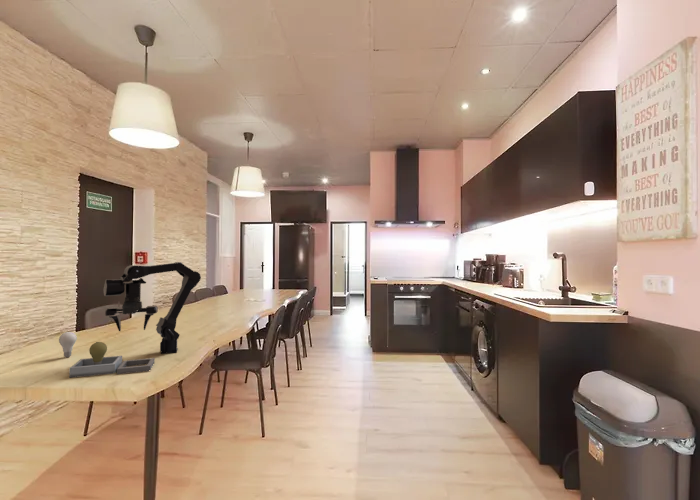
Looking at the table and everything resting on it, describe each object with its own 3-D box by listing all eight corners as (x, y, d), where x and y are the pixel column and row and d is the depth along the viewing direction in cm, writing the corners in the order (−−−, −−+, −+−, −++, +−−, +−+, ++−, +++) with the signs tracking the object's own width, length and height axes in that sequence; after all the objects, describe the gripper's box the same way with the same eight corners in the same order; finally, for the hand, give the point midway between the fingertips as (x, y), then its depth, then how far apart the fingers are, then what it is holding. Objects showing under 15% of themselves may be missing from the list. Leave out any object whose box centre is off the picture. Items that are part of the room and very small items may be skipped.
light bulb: (97, 370, 132) (98, 344, 132) (84, 369, 133) (85, 343, 133) (109, 366, 138) (111, 340, 138) (97, 365, 139) (99, 339, 139)
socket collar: (154, 362, 146) (154, 357, 146) (150, 370, 135) (150, 365, 136) (123, 365, 142) (123, 360, 142) (116, 374, 131) (117, 368, 131)
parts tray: (122, 364, 144) (122, 355, 144) (114, 373, 132) (114, 364, 132) (80, 367, 138) (80, 359, 138) (69, 377, 127) (69, 368, 127)
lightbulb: (77, 357, 152) (78, 332, 153) (59, 360, 148) (60, 334, 148) (74, 354, 157) (75, 329, 157) (57, 357, 152) (57, 331, 152)
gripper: (102, 297, 141) (101, 336, 141) (154, 295, 148) (154, 332, 148) (109, 294, 152) (108, 330, 151) (158, 292, 158) (157, 327, 158)
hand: (132, 330), depth 152 cm, fingers open, 9 cm apart
